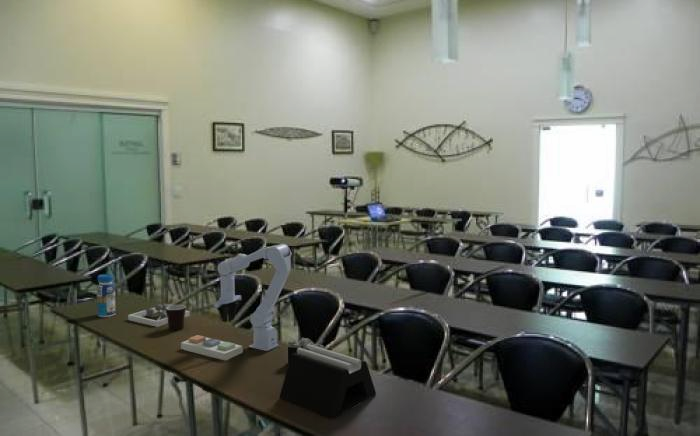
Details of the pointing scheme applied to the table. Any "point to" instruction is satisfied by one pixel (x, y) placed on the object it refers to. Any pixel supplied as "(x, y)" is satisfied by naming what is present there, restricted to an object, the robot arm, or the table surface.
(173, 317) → the coffee mug
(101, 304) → the beverage bottle
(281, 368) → the table surface
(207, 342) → the slate key
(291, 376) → the device stand
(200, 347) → the keypad
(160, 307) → the molecule model
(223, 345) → the sage key
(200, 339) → the terracotta key
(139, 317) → the display tray
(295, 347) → the camera
